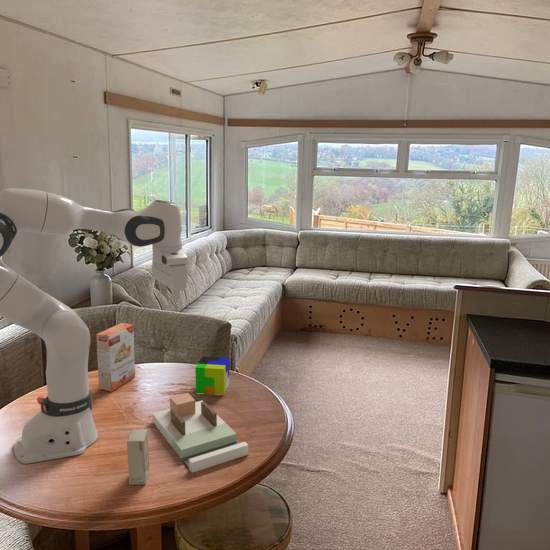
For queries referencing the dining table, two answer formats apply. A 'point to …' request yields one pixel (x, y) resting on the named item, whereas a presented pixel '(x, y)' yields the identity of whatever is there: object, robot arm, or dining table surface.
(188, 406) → the block
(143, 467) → the skincare box
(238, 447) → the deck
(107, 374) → the cracker box
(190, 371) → the dining table surface
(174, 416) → the channel walls
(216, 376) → the puzzle toy
